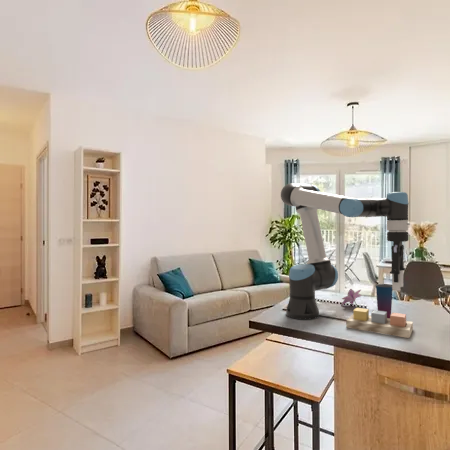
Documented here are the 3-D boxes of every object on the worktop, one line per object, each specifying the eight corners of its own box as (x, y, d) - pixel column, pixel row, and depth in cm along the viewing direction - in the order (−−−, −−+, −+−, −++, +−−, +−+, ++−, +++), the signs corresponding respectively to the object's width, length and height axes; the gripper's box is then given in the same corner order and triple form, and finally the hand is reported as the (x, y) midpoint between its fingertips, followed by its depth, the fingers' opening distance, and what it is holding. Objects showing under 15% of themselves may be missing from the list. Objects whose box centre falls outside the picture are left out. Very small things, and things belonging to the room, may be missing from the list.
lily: (365, 307, 171) (357, 289, 175) (371, 303, 160) (362, 285, 164) (343, 314, 172) (336, 296, 175) (347, 311, 161) (339, 292, 165)
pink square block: (390, 325, 130) (390, 315, 130) (392, 322, 134) (392, 312, 134) (404, 327, 127) (404, 317, 127) (406, 324, 131) (406, 314, 131)
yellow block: (353, 319, 138) (353, 310, 138) (356, 316, 142) (356, 307, 142) (366, 321, 135) (366, 312, 135) (368, 318, 139) (368, 309, 139)
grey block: (371, 322, 134) (371, 312, 134) (373, 319, 138) (373, 310, 138) (384, 324, 131) (384, 314, 131) (386, 321, 135) (386, 311, 135)
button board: (346, 327, 137) (346, 320, 136) (353, 319, 146) (353, 313, 146) (409, 338, 123) (409, 330, 123) (412, 329, 133) (412, 321, 133)
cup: (395, 321, 143) (394, 287, 143) (378, 321, 144) (377, 287, 144) (390, 317, 150) (390, 284, 149) (374, 316, 151) (374, 283, 151)
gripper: (405, 232, 119) (405, 294, 120) (411, 230, 136) (411, 284, 137) (382, 232, 124) (382, 292, 124) (391, 230, 141) (391, 283, 141)
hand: (398, 288), depth 130 cm, fingers open, 8 cm apart
